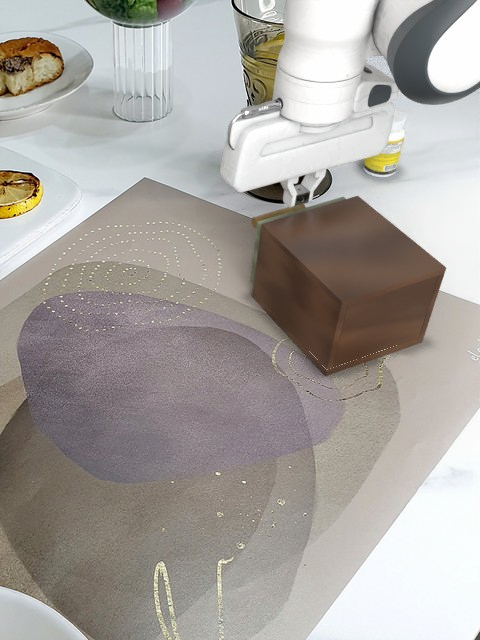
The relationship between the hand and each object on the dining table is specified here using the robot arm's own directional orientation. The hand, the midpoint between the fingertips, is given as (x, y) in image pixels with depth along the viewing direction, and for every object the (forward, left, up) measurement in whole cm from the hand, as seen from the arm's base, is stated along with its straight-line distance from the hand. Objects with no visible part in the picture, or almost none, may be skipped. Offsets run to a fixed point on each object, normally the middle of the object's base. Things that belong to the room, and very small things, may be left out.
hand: (296, 202), depth 101 cm
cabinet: (0, +10, -10) cm, 14 cm away
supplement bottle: (-25, -15, -10) cm, 31 cm away
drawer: (0, +6, -9) cm, 11 cm away
